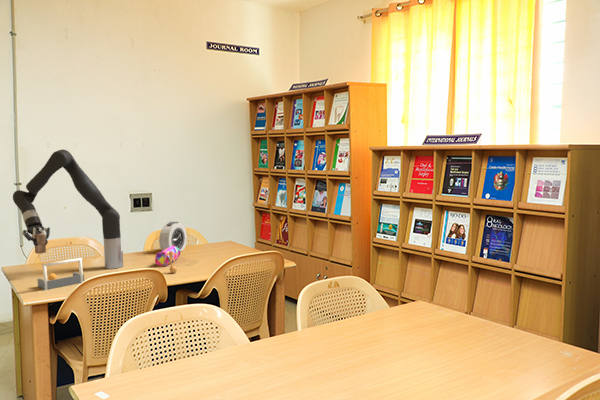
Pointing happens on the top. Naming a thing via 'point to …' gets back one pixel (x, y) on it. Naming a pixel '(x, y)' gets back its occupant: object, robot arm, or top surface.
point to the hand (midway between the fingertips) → (41, 244)
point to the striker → (40, 243)
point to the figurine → (172, 268)
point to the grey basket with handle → (62, 281)
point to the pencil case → (161, 256)
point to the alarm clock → (173, 236)
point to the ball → (52, 276)
